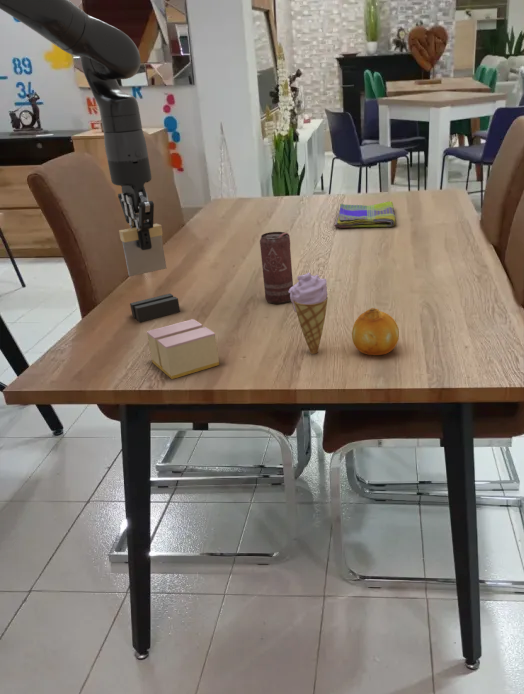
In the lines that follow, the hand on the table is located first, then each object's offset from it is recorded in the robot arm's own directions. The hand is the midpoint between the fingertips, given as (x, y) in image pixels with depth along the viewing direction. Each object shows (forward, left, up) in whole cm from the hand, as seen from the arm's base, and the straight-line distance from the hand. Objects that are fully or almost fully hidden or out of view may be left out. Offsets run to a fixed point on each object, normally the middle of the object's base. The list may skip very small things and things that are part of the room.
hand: (143, 247), depth 138 cm
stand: (0, 0, -14) cm, 14 cm away
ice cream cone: (+15, -38, -14) cm, 43 cm away
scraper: (0, 0, -5) cm, 5 cm away
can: (+25, -10, -14) cm, 30 cm away
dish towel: (+81, +34, -14) cm, 89 cm away
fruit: (+24, -45, -14) cm, 53 cm away
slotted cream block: (-5, -27, -14) cm, 31 cm away
